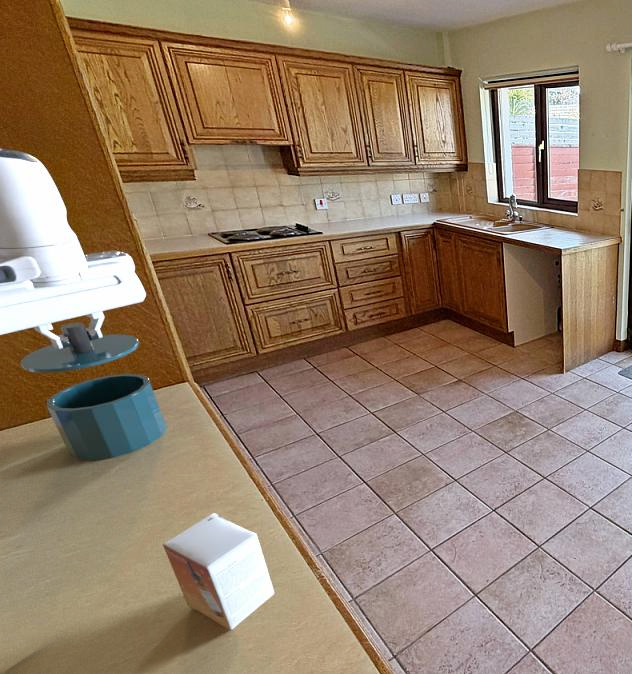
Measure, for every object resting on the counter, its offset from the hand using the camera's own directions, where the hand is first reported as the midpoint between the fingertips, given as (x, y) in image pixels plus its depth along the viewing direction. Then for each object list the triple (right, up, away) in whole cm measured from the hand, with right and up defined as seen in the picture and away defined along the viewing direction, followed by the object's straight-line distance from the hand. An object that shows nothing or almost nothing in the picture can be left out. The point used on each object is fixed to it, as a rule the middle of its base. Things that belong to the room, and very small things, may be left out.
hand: (79, 342), depth 78 cm
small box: (+40, -32, -19) cm, 55 cm away
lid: (0, -2, +1) cm, 2 cm away
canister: (-1, -18, +8) cm, 20 cm away
